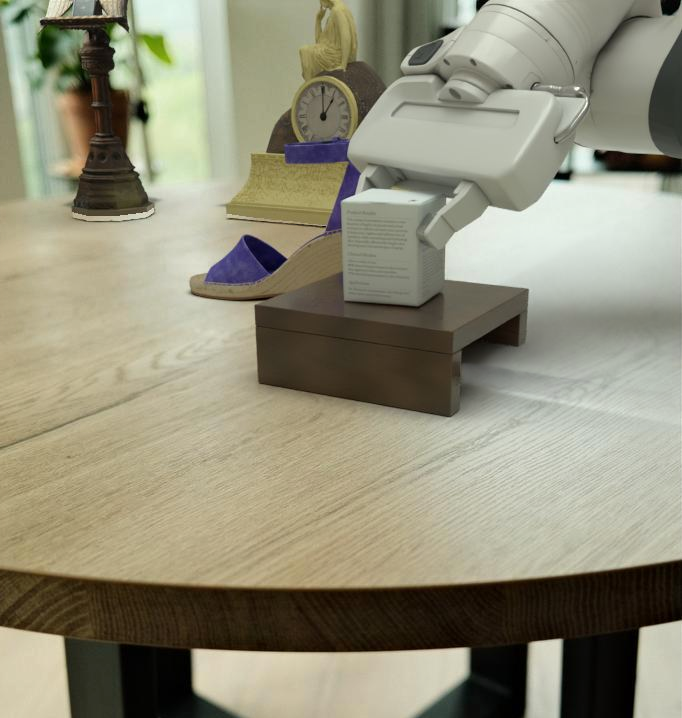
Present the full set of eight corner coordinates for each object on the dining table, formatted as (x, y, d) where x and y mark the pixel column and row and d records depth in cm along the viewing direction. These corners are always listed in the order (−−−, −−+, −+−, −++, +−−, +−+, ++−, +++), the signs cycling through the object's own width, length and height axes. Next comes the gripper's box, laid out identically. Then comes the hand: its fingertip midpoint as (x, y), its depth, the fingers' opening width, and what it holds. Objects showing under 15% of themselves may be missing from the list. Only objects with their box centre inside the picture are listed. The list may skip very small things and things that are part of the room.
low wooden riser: (524, 363, 81) (529, 288, 78) (450, 417, 70) (453, 331, 67) (349, 338, 88) (348, 268, 85) (257, 382, 77) (253, 304, 75)
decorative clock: (226, 218, 146) (212, -17, 133) (276, 206, 156) (267, -14, 143) (401, 234, 133) (404, -25, 120) (442, 219, 143) (449, -22, 130)
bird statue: (149, 227, 140) (123, -64, 125) (55, 228, 140) (18, -62, 125) (171, 208, 155) (150, -54, 140) (86, 209, 155) (56, -52, 140)
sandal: (217, 279, 110) (207, 131, 103) (389, 293, 103) (390, 136, 97) (178, 295, 103) (165, 138, 97) (359, 312, 96) (359, 144, 90)
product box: (446, 290, 78) (449, 190, 74) (418, 309, 73) (420, 203, 69) (372, 284, 80) (372, 187, 77) (340, 301, 75) (339, 198, 72)
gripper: (623, 123, 68) (501, 286, 68) (441, 108, 84) (341, 239, 84) (580, 51, 64) (451, 223, 64) (398, 49, 80) (293, 187, 80)
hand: (387, 232), depth 74 cm, fingers closed on product box, 8 cm apart
